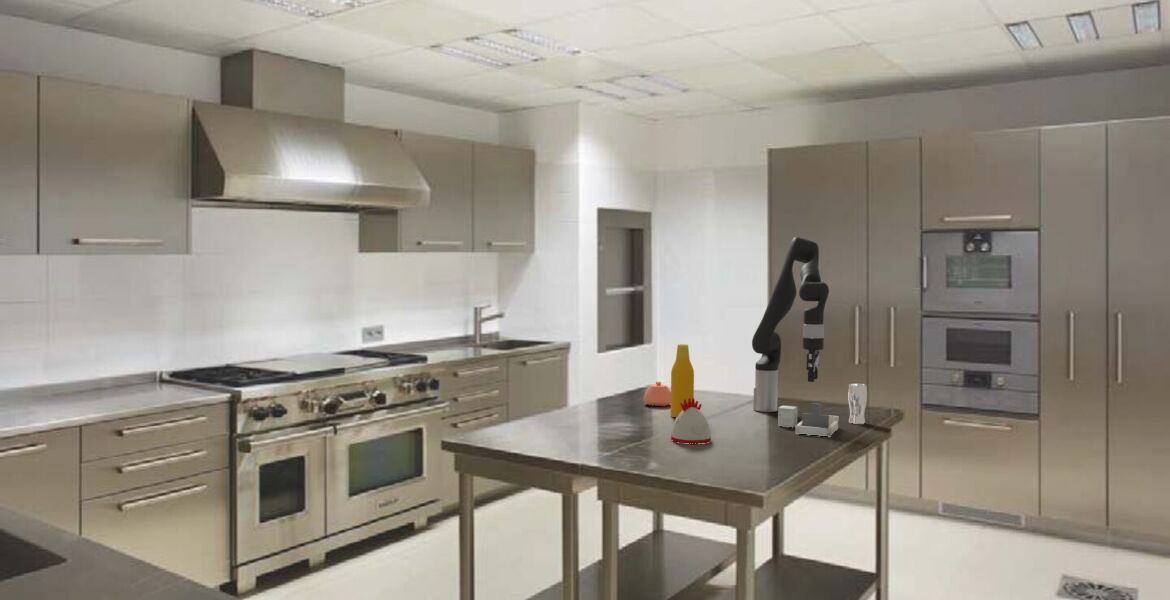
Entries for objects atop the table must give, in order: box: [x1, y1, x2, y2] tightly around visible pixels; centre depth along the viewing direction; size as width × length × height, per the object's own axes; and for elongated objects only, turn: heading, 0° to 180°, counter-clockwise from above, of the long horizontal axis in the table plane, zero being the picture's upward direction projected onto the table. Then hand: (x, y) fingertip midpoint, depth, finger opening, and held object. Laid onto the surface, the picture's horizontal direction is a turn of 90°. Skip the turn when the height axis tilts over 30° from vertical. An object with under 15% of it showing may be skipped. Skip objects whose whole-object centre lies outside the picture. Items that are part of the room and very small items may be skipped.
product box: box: [777, 405, 798, 429], centre depth 325 cm, size 6×6×7 cm
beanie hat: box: [670, 398, 712, 444], centre depth 298 cm, size 14×14×15 cm
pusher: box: [801, 402, 829, 428], centre depth 312 cm, size 9×1×10 cm, turn 65°
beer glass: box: [847, 382, 868, 425], centre depth 331 cm, size 7×7×15 cm
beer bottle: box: [670, 343, 695, 418], centre depth 341 cm, size 9×9×29 cm
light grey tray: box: [794, 414, 840, 438], centre depth 315 cm, size 12×18×5 cm
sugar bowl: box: [643, 381, 671, 407], centre depth 368 cm, size 12×14×10 cm
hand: (812, 380), depth 313 cm, fingers open, 8 cm apart
